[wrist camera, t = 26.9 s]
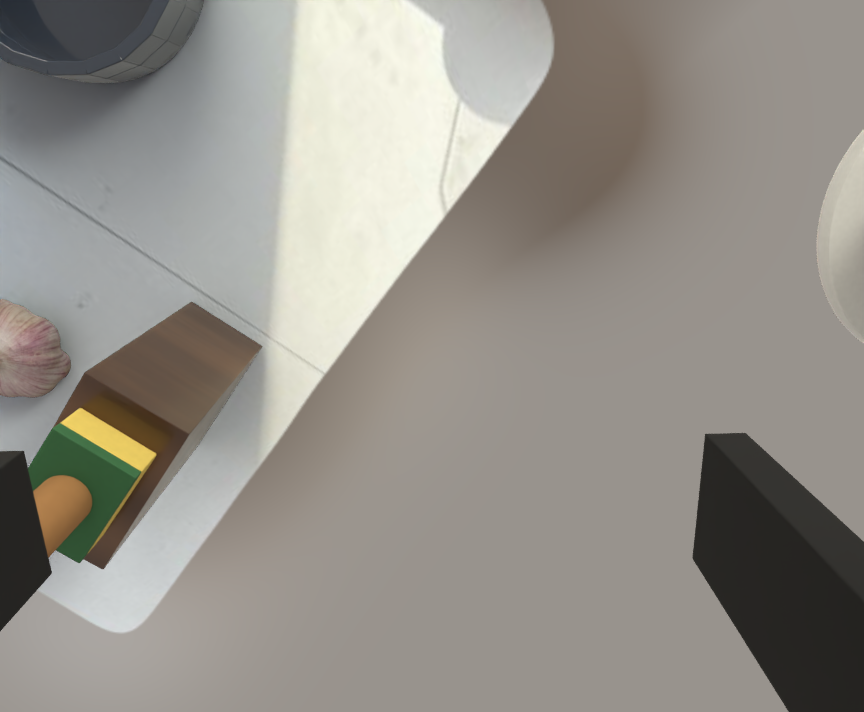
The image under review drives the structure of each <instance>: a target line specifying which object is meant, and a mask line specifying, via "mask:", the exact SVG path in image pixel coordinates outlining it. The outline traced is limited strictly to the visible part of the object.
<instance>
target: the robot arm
mask: <svg viewBox="0 0 864 712" xmlns="http://www.w3.org/2000/svg"><path fill="white" fill-rule="evenodd" d="M693 560H694V562H695V563H696V565H697V566H698V568H699V569H700V571H701V573H702V574H703V576H704V577H705V579H706V581H707V582H708V584H709V585H710V587H711V589H712V590H713V591H714V593H715V595H716V597H717V598H718V600H719V601H720V603H721V605H722V606H723V608H724V609H725V611H726V612H727V614H728V616H729V617H730V619H731V620H732V622H733V624H734V625H735V627H736V628H737V630H738V632H739V633H740V634H741V636H742V638H743V639H744V641H745V643H746V644H747V646H748V647H749V649H750V651H751V652H752V654H753V655H754V657H755V658H756V660H757V662H758V663H759V665H760V667H761V668H762V670H763V671H764V673H765V675H766V676H767V678H768V679H769V681H770V683H771V684H772V686H773V687H774V689H775V691H776V692H777V694H778V695H779V697H780V698H781V700H782V702H783V703H784V705H785V706H786V708H787V710H788V711H789V712H864V542H863V541H862V540H861V539H860V538H859V537H858V536H857V535H856V534H855V533H853V532H852V531H851V530H850V529H849V528H848V527H847V526H846V525H845V524H844V523H843V522H841V521H840V520H839V519H838V518H837V517H836V516H835V515H834V514H833V513H832V512H831V511H830V510H828V509H827V508H826V507H825V506H824V505H823V504H822V503H821V502H820V501H819V500H818V499H816V498H815V497H814V496H813V495H812V494H811V493H810V492H809V491H808V490H807V489H806V488H805V487H804V486H802V485H801V484H800V483H799V482H798V481H797V480H796V479H795V478H793V476H792V475H791V474H789V473H788V472H787V471H786V470H785V469H784V468H783V467H782V466H781V465H780V464H779V463H777V462H776V461H775V460H774V459H773V458H772V457H771V456H770V455H769V454H768V453H767V452H766V451H764V450H763V449H762V448H761V447H760V446H759V445H758V444H757V443H756V442H754V440H753V439H751V438H750V437H749V436H748V435H747V434H746V433H730V434H705V442H704V452H703V462H702V472H701V481H700V491H699V501H698V510H697V521H696V530H695V540H694V549H693ZM51 574H52V571H51V567H50V563H49V558H48V554H47V550H46V545H45V541H44V537H43V532H42V528H41V524H40V519H39V515H38V511H37V506H36V502H35V498H34V493H33V489H32V485H31V480H30V476H29V472H28V467H27V463H26V459H25V454H24V451H1V452H0V631H1V630H2V629H3V627H4V626H5V625H6V624H7V623H8V622H9V621H10V620H11V618H12V617H13V616H14V615H15V614H16V613H17V612H18V611H19V610H20V608H21V607H22V606H23V605H24V604H25V603H26V602H27V601H28V599H29V598H30V597H31V596H32V595H33V594H34V593H35V592H36V590H37V589H38V588H39V587H40V586H41V585H42V584H43V583H44V581H45V580H46V579H47V578H48V577H49V576H50V575H51Z"/></svg>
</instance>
